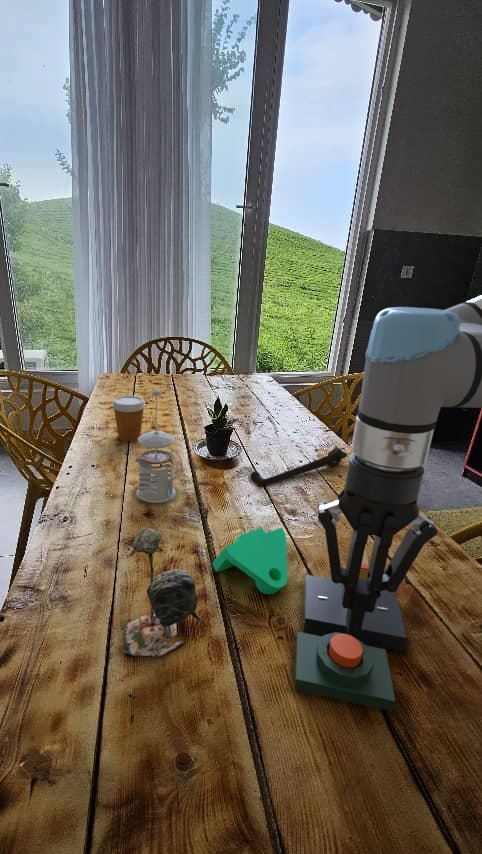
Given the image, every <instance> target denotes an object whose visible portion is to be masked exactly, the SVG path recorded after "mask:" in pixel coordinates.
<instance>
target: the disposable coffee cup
mask: <svg viewBox="0 0 482 854" xmlns="http://www.w3.org/2000/svg"><path fill="white" fill-rule="evenodd" d="M111 405H112V409H113V412H114V417H115V424H116V429H117V435H118V440H120V441H122V442H135V441H138V438H139V437H140V436H141V435H142V425H143V417H144V408H145V406H146V403H145V401H144V398H142V397H140V396H137V395H136V396H135V395H122V396H117V397H116V398H114V399H113V401H112V404H111Z"/></svg>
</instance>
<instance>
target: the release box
mask: <svg viewBox="0 0 482 854" xmlns="http://www.w3.org/2000/svg"><path fill="white" fill-rule="evenodd" d="M337 634H343V633H338V632H335V633H331V634H327V635H324V636H321V635H316V634H311V633H306V632H301V631H297V632H296V639H295V653H294V654H295V656H294V677H293V678H294V679H293V680H294V682H293V690H295V691H299V692H304V693H307V694H313V695H317V696H322V697H327V698H331V699H336V700H339V701H344V702H348V703H353V704H357V705H362V706H365V707H371V708H374V709H379V710H383V711H389V712H394V708H395V705H396V702H397V701H396V696H395V690H394V684H393V679H392V675H391V669H390V665H389V664H390V663H389V659H388V655H387V649H386V648H381V647H376V646H371V645H366V644H364V643H363V642H361V641H359V640H358V639H356V638H355V639H356V640H358V641H359V643H360V644H361V646H362V649H363V652H362V657H361V661H360V664H359V665H358V666H357V667H355V668H344V667H341V666H339V665H338V664H336V663H335V662H334V661H333V660H332V659H331V657H330V655H329V647H330V642H331V639H332V637H333V636H335V635H337ZM347 635H348V634H347ZM350 636H351V635H350ZM352 637H353V636H352Z"/></svg>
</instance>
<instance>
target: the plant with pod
mask: <svg viewBox="0 0 482 854" xmlns="http://www.w3.org/2000/svg"><path fill="white" fill-rule="evenodd" d="M162 537H163V536H162V533H161V531H157V530H155V529H153V528H151V527H147V526H142V527H139V530H138V531H137V535H136V537H135V538H134V540H133V542H132V544H131V545H132V548H133V549H132V550H131V553H129V557H133V556H135V554H136V553H144V554H146V555H148V562H149V569H150V581H149V583H148V585H147V589H146V594H147V596H148V598H149V603H150V607H151V608H150V614H145V615H141V616H139V617H138V618H137V619H134V620H132V621H129V622H128V623H127V625H125V626H124V629H123V631H125V632H124V635H125V639H124V644H125V646H124V649H125V650H123V652H124V653H125V654H127V655H129V656H134V657H135V656H138V657H142V656H143V657H144V656H145V657H148V656H149V657H151V656H152V657H153V658H156V657H157V658H159V657H162V656H163V655H166V653H168V652H170V651H171V650H174V649H176V648H178V646H180V645H183V644H184V643H185V641H186V640H182V641H176V642H175V643H174V644H172V641H171V640H172V639H173V638H174V637H175V636H176V635H177V634H178V632H177V631H178V630H177V623H182V622H184V621H185V620H187V619H188V617H190V615H191V616H192V617H193V618H194V619H195V620H197V621H199V622H202V617H201V616H200V615H198V614H197V613H196V612H195V611H196V610H197V606H198V604H199V602H198V595H197V590H196V584H195V579H194V578H192V576H191V575H190V572H189V571H187V570H184V569H180V568H179V569H171V570H167V571H163V572H161V573H160V574H157V575H156V577H155V576H154V575H155V573H154V571H155V570H154V556H153V555H154V554H155V553H156V552H157V550H158V549H159V547H160V543H161V540H162ZM167 646H170V647H168V648H165V647H167Z"/></svg>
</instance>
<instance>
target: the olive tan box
mask: <svg viewBox="0 0 482 854" xmlns="http://www.w3.org/2000/svg"><path fill="white" fill-rule="evenodd" d="M369 563H370V562H369V559H368V552H367V549H366V547H365V550H364V555H363V560H362V565H361V570H360V575H359V579H364V580H366V581H367V573H368V568H369Z"/></svg>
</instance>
